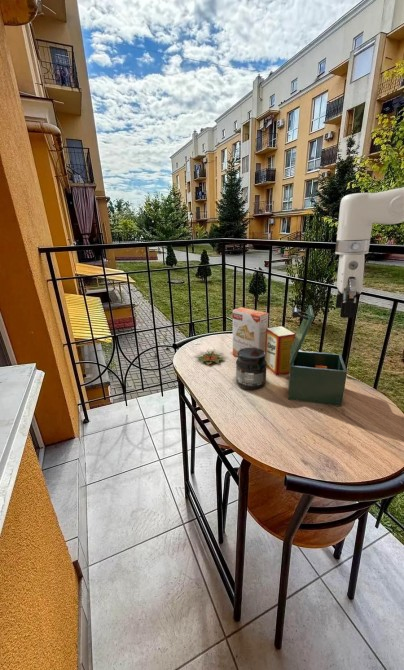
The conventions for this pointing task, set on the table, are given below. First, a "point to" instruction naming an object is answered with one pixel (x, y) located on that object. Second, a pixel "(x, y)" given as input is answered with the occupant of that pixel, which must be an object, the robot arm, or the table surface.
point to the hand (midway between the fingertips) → (344, 312)
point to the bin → (317, 378)
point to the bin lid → (300, 330)
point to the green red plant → (210, 358)
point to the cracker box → (249, 329)
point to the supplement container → (251, 368)
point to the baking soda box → (278, 349)
